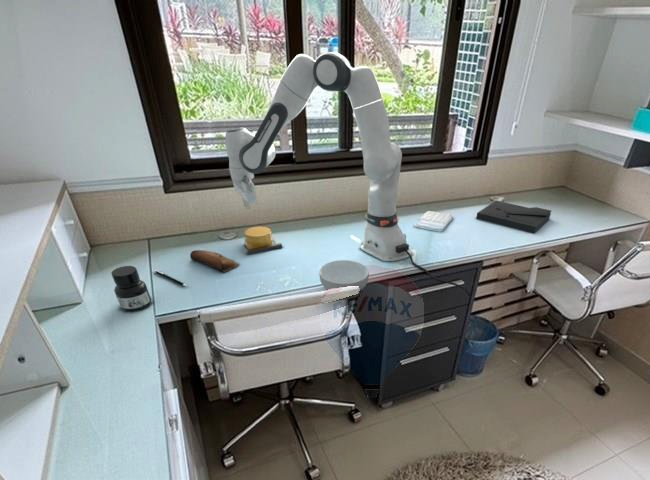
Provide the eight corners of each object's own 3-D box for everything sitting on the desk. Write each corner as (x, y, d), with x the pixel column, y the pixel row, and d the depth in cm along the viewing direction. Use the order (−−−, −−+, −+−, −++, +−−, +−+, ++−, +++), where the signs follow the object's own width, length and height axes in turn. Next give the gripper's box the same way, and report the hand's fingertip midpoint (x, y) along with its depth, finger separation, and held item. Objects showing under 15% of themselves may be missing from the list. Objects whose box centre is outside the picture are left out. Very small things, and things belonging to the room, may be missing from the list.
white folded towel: (453, 218, 197) (453, 214, 196) (441, 232, 182) (441, 228, 181) (427, 213, 201) (427, 209, 200) (413, 227, 186) (413, 223, 185)
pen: (155, 271, 147) (154, 268, 146) (188, 286, 138) (187, 284, 138) (153, 272, 146) (152, 269, 146) (186, 287, 138) (185, 285, 137)
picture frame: (549, 218, 199) (494, 206, 212) (551, 210, 197) (496, 198, 210) (534, 233, 184) (476, 218, 197) (536, 224, 181) (477, 210, 194)
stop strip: (282, 247, 166) (281, 244, 165) (248, 254, 160) (247, 251, 159) (280, 246, 167) (280, 242, 166) (247, 253, 161) (246, 249, 160)
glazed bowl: (277, 246, 166) (275, 233, 163) (250, 252, 162) (248, 238, 158) (268, 236, 174) (266, 224, 171) (242, 241, 169) (240, 229, 166)
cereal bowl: (350, 307, 131) (350, 288, 126) (310, 292, 138) (308, 274, 133) (377, 285, 142) (378, 267, 138) (339, 273, 149) (338, 255, 145)
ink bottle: (118, 314, 124) (104, 280, 117) (120, 300, 131) (106, 267, 124) (153, 308, 128) (141, 274, 120) (153, 294, 134) (141, 262, 127)
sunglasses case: (240, 263, 152) (230, 252, 147) (229, 278, 150) (219, 267, 145) (208, 251, 160) (197, 240, 154) (197, 265, 158) (186, 255, 152)
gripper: (258, 179, 154) (263, 214, 162) (242, 166, 167) (247, 199, 176) (241, 181, 151) (247, 217, 159) (227, 167, 165) (233, 201, 173)
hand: (247, 207), depth 168 cm, fingers closed
